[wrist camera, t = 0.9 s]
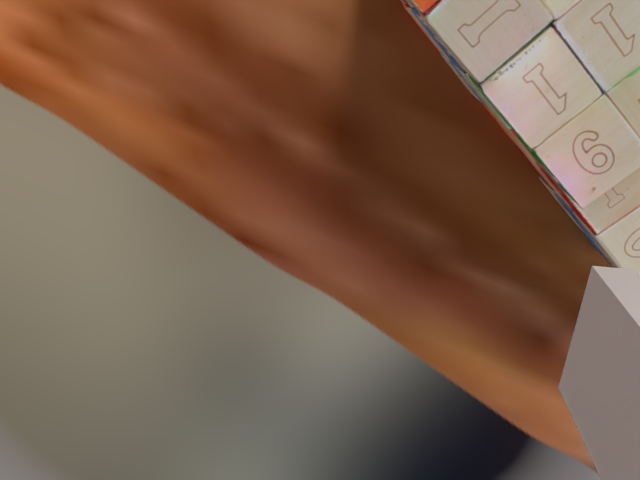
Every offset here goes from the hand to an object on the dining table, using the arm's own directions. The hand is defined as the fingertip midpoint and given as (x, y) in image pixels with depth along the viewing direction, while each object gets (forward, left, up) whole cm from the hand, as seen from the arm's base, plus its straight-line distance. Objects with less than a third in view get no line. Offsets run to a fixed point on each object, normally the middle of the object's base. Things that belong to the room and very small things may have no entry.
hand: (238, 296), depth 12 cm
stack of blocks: (-2, +11, -24) cm, 26 cm away
